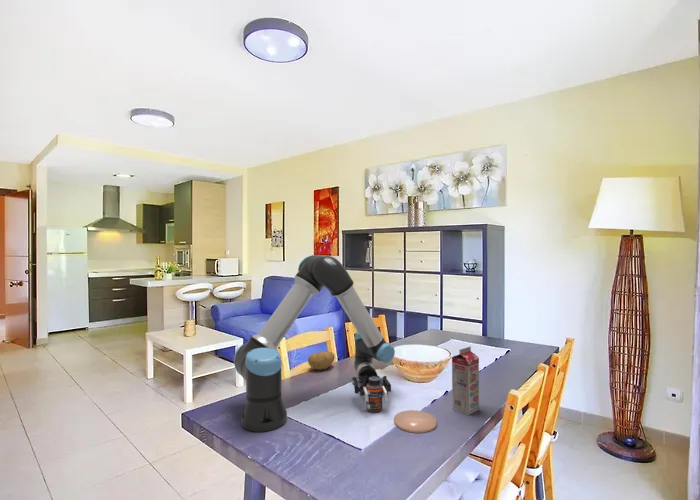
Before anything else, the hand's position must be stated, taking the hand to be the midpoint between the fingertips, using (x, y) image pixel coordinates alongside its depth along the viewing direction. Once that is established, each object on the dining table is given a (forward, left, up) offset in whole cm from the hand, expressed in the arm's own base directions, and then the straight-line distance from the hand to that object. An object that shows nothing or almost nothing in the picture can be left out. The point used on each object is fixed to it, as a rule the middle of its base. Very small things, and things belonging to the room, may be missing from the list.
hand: (376, 397), depth 131 cm
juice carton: (+17, -27, -7) cm, 33 cm away
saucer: (0, -13, -6) cm, 15 cm away
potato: (+36, +42, -7) cm, 56 cm away
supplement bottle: (+4, +3, -7) cm, 8 cm away
